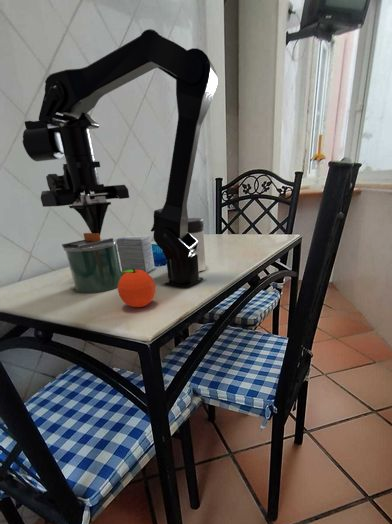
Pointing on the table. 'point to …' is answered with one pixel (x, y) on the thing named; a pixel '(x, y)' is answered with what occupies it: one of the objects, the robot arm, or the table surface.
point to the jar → (197, 232)
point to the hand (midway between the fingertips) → (97, 237)
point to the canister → (94, 265)
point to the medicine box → (135, 253)
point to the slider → (88, 239)
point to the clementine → (136, 288)
